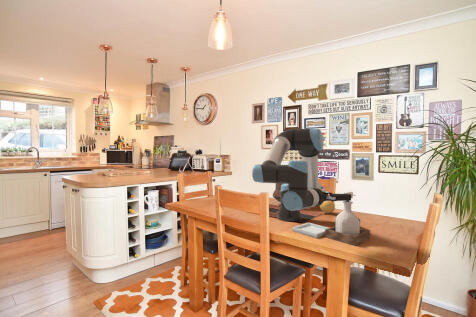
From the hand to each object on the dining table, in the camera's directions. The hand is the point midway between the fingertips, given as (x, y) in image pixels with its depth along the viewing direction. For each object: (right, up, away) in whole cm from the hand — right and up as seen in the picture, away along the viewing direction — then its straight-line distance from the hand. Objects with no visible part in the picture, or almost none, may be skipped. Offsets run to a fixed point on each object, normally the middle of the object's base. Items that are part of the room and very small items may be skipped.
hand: (338, 193), depth 120 cm
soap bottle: (+7, -24, +7) cm, 26 cm away
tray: (-7, -23, +17) cm, 30 cm away
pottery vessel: (-7, -22, +85) cm, 88 cm away
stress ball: (+16, -23, +58) cm, 64 cm away
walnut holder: (+7, -24, +7) cm, 26 cm away
